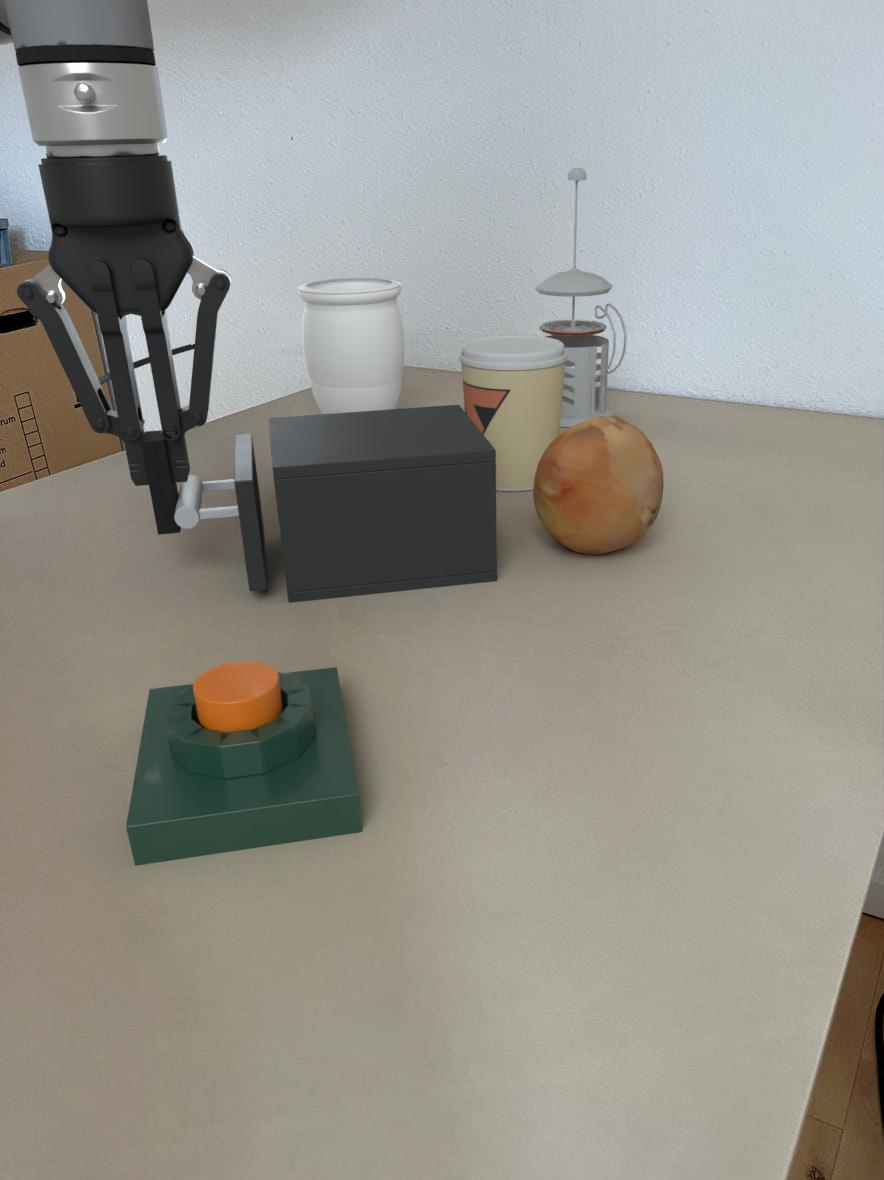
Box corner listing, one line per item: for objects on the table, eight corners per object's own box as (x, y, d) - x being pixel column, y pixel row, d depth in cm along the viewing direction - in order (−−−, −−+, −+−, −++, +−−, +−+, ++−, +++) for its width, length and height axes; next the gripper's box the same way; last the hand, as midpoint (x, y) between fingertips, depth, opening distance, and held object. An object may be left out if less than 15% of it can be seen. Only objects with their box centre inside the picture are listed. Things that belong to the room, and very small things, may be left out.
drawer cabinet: (288, 603, 66) (272, 467, 62) (282, 537, 77) (268, 417, 73) (497, 581, 69) (495, 449, 64) (462, 520, 80) (459, 404, 75)
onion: (558, 518, 80) (561, 396, 75) (676, 536, 76) (687, 408, 71) (509, 560, 72) (509, 427, 68) (638, 582, 68) (647, 443, 64)
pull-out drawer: (184, 598, 65) (164, 487, 62) (192, 537, 75) (175, 438, 71) (445, 572, 68) (441, 464, 65) (419, 517, 78) (414, 421, 75)
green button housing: (156, 723, 53) (143, 659, 51) (340, 700, 55) (333, 637, 53) (134, 866, 43) (117, 792, 41) (362, 833, 44) (355, 760, 43)
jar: (366, 450, 98) (355, 294, 91) (290, 435, 103) (274, 287, 96) (428, 425, 106) (422, 280, 99) (354, 413, 111) (344, 274, 104)
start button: (200, 696, 48) (194, 665, 48) (281, 686, 49) (277, 656, 48) (196, 739, 45) (190, 707, 44) (284, 728, 46) (279, 696, 45)
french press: (568, 400, 115) (574, 165, 103) (645, 418, 107) (661, 166, 96) (508, 415, 109) (507, 168, 97) (586, 436, 101) (595, 170, 90)
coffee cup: (447, 470, 92) (443, 340, 86) (536, 457, 95) (537, 330, 89) (487, 500, 84) (485, 359, 78) (582, 485, 87) (586, 348, 82)
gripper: (-30, 155, 53) (64, 555, 64) (214, 149, 55) (265, 537, 66) (1, 153, 60) (81, 517, 70) (218, 148, 62) (264, 501, 73)
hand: (170, 526), depth 68 cm, fingers closed
